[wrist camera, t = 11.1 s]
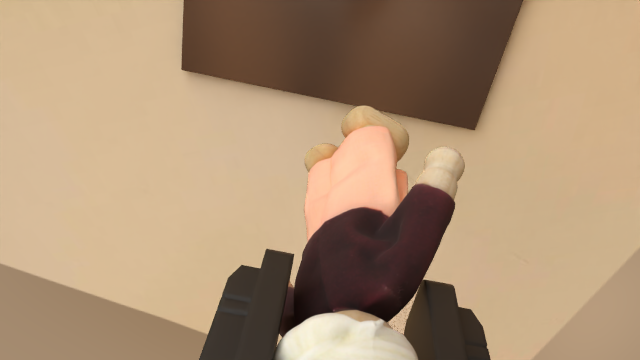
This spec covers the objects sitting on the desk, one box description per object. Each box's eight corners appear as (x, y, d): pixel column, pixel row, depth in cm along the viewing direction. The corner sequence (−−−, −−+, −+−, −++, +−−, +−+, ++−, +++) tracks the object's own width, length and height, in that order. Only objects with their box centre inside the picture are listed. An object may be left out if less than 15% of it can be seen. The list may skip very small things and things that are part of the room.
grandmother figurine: (347, 232, 22) (320, 576, 11) (272, 188, 21) (167, 514, 11) (469, 98, 19) (596, 419, 8) (384, 38, 18) (395, 304, 7)
